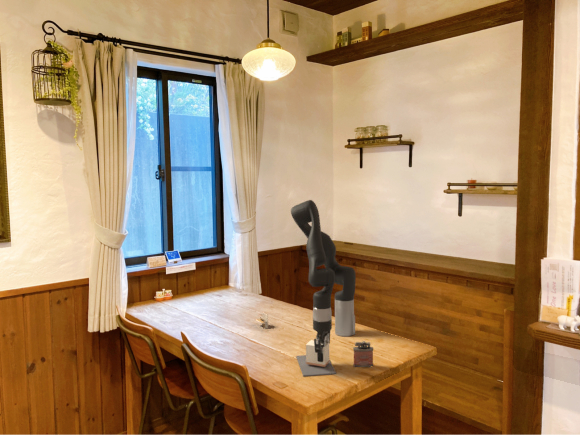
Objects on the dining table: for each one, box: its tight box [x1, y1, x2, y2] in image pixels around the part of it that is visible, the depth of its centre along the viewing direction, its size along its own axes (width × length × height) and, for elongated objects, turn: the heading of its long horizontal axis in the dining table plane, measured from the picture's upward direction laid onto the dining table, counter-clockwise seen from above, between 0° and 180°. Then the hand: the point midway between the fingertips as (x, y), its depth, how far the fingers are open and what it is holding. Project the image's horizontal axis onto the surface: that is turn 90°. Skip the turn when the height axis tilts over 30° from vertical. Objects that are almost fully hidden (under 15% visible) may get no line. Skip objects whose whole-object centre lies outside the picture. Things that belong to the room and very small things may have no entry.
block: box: [305, 339, 330, 367], centre depth 180 cm, size 8×6×8 cm
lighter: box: [352, 340, 374, 368], centre depth 179 cm, size 8×3×10 cm, turn 92°
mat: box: [295, 354, 337, 377], centre depth 181 cm, size 13×19×1 cm
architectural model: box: [256, 311, 269, 329], centre depth 229 cm, size 3×7×7 cm, turn 31°
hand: (322, 358), depth 179 cm, fingers closed on block, 5 cm apart
